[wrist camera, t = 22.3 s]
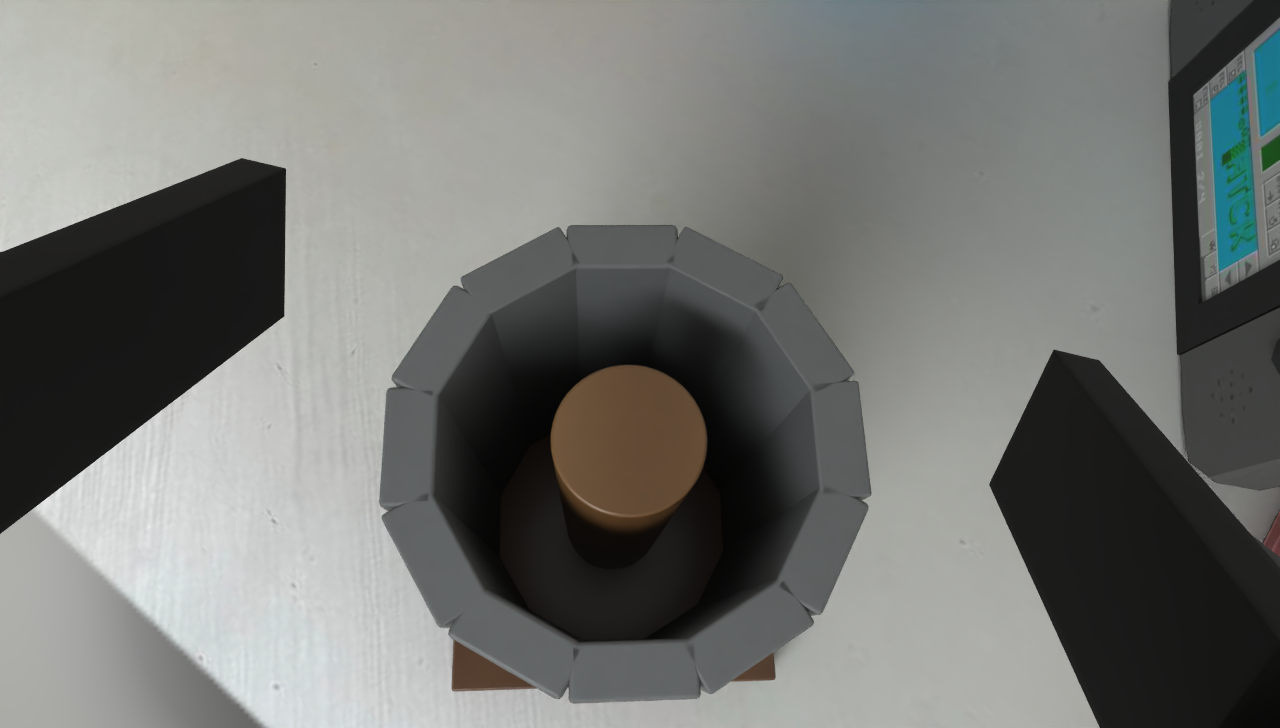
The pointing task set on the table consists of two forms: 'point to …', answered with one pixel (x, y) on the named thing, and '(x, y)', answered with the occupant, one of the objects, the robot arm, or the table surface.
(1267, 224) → the handheld gaming console
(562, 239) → the slatted grey tube
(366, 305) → the table surface
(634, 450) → the stand
